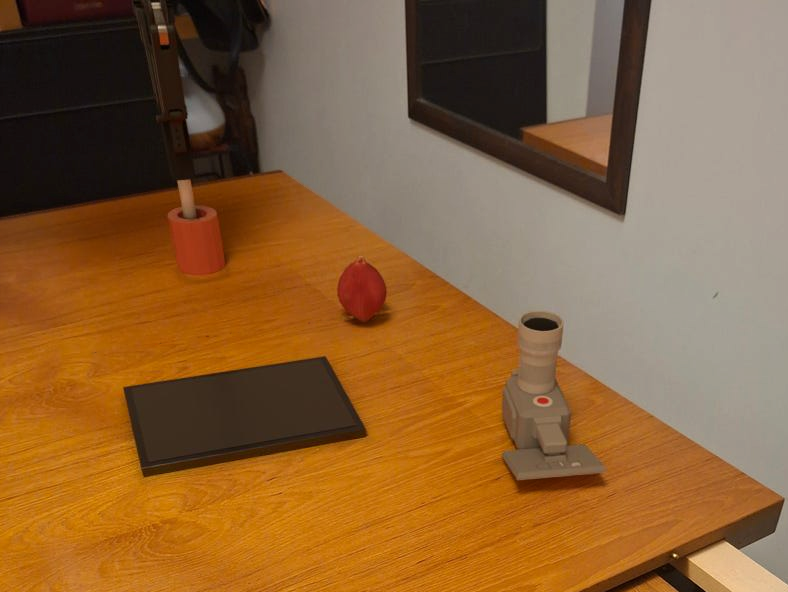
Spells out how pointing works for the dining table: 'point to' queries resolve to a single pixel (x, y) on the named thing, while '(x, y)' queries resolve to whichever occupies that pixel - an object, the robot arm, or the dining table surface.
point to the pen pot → (197, 241)
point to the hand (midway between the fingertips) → (182, 175)
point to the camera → (541, 407)
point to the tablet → (239, 415)
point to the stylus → (187, 199)
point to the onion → (361, 290)
